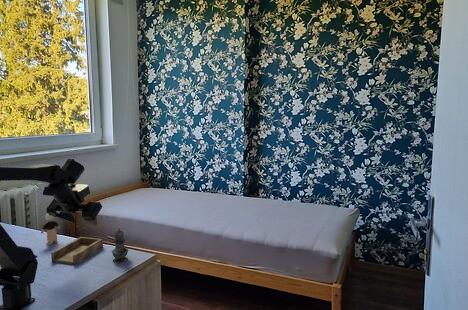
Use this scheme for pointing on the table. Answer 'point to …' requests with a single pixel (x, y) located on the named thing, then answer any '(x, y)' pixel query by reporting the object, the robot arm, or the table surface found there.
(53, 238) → the grandmother figurine
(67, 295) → the table surface
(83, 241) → the open-ended wooden tray
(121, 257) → the grey tiered stone figure
